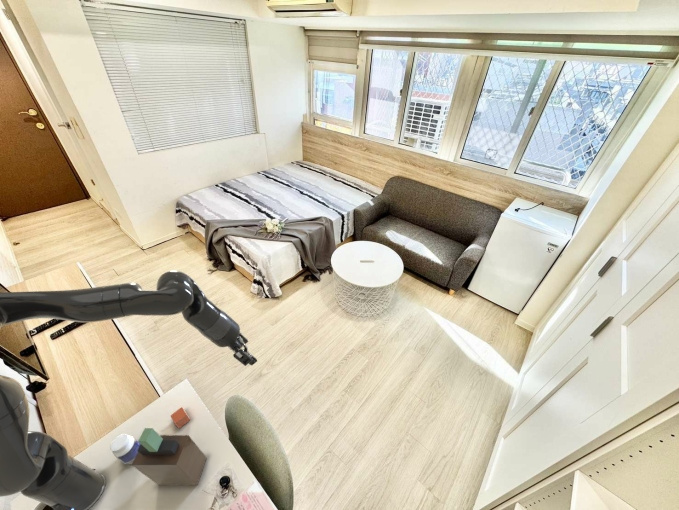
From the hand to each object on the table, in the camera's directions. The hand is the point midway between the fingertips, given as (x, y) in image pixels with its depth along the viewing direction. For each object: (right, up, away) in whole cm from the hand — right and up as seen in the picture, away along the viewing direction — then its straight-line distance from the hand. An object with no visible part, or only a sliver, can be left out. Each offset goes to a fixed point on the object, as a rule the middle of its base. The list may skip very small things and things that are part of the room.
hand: (249, 352), depth 83 cm
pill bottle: (-40, -36, +5) cm, 54 cm away
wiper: (-21, -23, -9) cm, 33 cm away
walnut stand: (-21, -38, +1) cm, 44 cm away
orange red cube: (-29, -29, +13) cm, 43 cm away
